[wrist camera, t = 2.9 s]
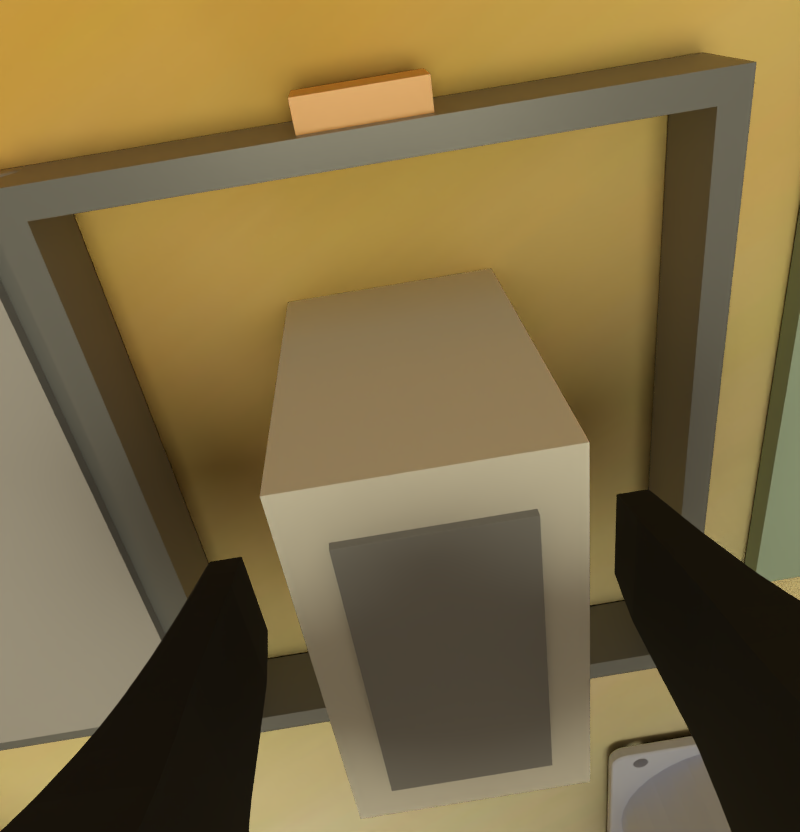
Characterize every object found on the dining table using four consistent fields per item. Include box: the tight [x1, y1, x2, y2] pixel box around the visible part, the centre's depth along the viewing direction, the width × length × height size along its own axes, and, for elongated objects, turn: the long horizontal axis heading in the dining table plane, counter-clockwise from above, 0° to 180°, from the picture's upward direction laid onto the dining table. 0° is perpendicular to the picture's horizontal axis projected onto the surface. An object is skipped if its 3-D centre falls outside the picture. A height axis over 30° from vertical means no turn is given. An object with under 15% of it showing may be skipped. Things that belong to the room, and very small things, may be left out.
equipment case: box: [0, 53, 756, 751], centre depth 16 cm, size 23×16×2 cm
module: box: [260, 268, 590, 819], centre depth 15 cm, size 4×8×7 cm, turn 8°
